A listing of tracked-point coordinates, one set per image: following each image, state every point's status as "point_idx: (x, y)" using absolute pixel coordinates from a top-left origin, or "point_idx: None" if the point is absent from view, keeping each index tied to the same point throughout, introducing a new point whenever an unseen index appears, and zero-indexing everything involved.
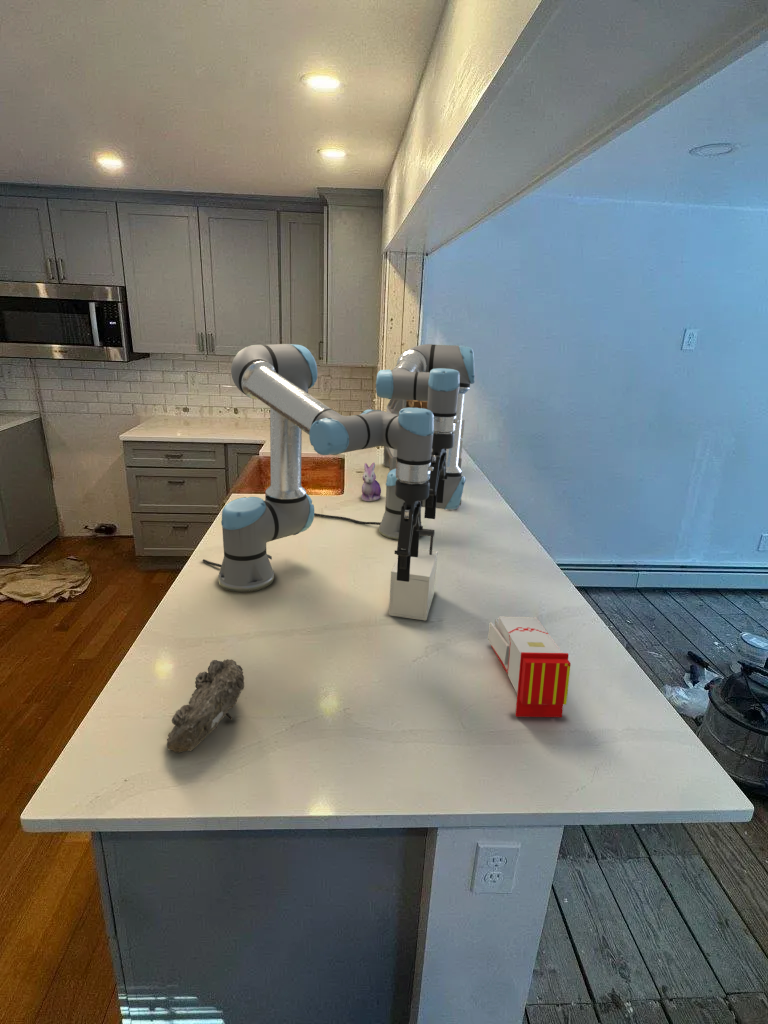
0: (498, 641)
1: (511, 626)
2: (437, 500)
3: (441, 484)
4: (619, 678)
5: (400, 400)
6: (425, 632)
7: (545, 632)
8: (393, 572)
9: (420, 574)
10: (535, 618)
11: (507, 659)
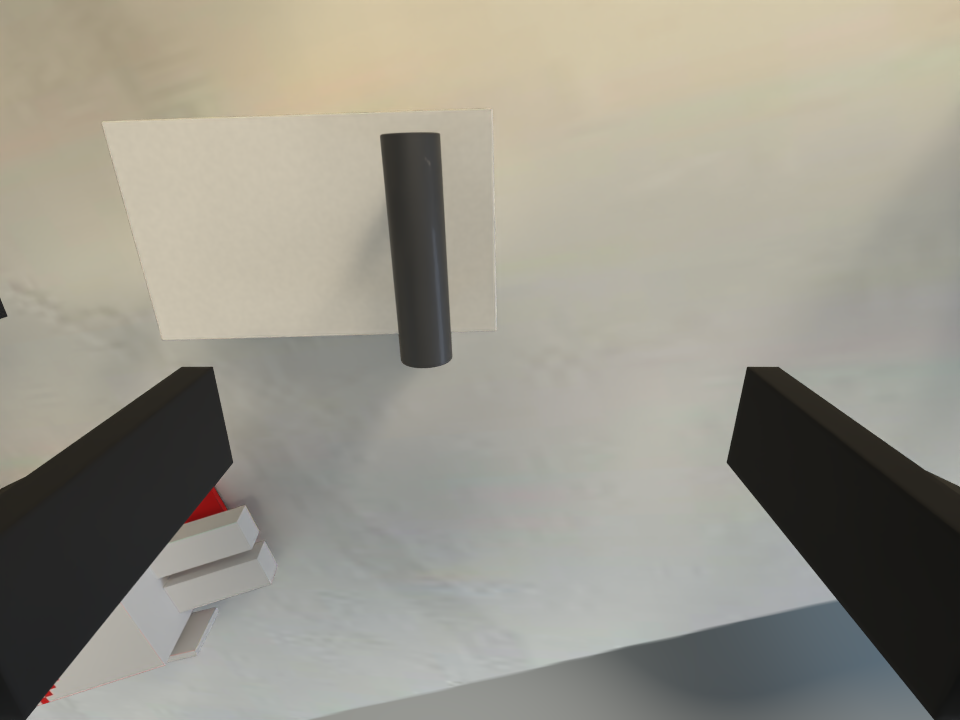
0: None
1: None
2: (750, 424)
3: (887, 615)
4: (230, 705)
5: None
6: None
7: (49, 696)
8: (107, 137)
9: (160, 293)
10: (153, 664)
11: None
